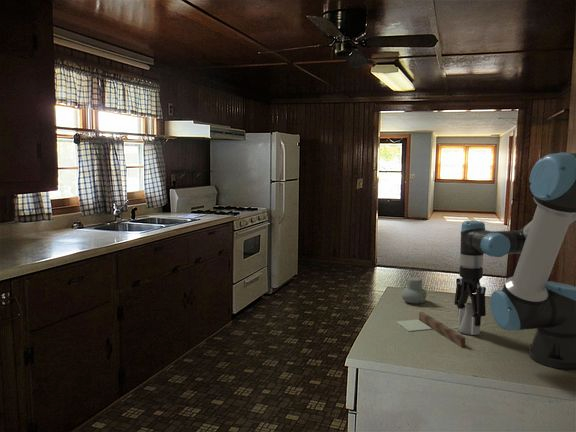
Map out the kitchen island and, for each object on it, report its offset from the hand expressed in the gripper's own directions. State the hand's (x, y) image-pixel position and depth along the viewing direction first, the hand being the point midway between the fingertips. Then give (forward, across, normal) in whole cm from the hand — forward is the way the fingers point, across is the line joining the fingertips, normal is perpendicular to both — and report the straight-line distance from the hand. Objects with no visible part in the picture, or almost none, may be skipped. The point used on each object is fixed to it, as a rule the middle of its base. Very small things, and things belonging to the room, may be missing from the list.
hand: (468, 330), depth 173 cm
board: (+1, +10, +16) cm, 19 cm away
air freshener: (+1, +37, +1) cm, 37 cm away
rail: (+1, +2, +10) cm, 10 cm away
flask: (+1, 0, 0) cm, 1 cm away
